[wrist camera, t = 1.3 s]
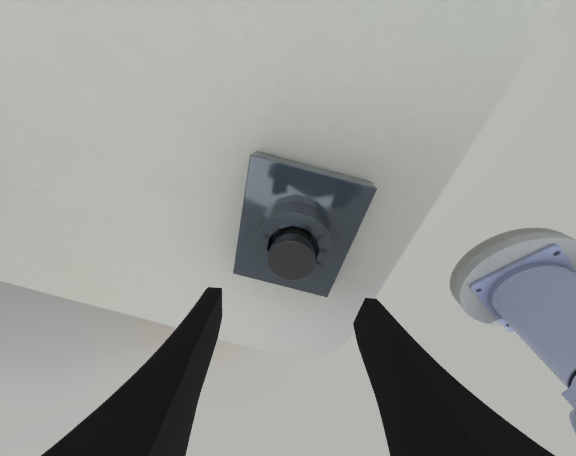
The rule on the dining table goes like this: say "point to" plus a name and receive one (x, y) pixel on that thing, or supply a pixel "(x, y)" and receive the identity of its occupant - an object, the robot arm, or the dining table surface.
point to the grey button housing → (299, 217)
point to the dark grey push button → (292, 254)
